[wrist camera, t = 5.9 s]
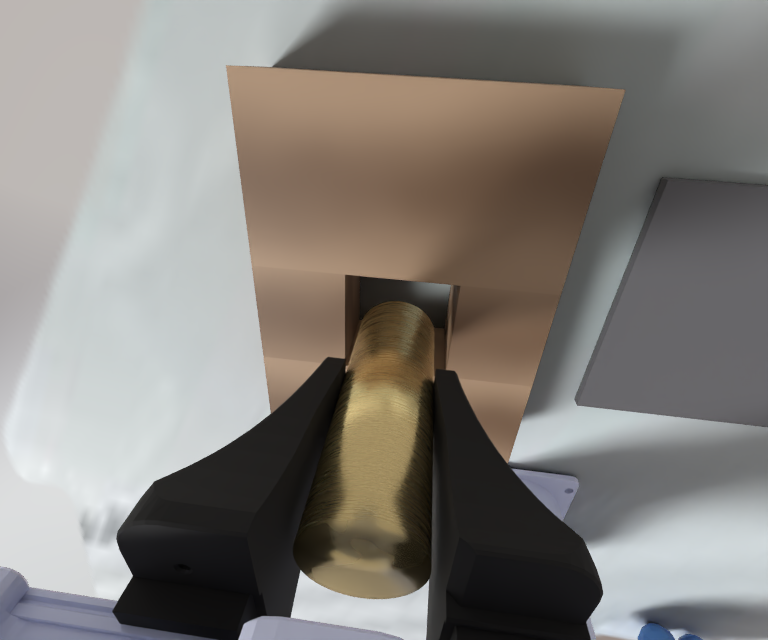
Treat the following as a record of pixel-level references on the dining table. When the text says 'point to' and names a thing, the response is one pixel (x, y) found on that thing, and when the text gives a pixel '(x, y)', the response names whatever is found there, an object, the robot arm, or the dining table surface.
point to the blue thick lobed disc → (661, 633)
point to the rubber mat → (690, 310)
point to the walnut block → (416, 214)
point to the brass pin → (376, 465)
